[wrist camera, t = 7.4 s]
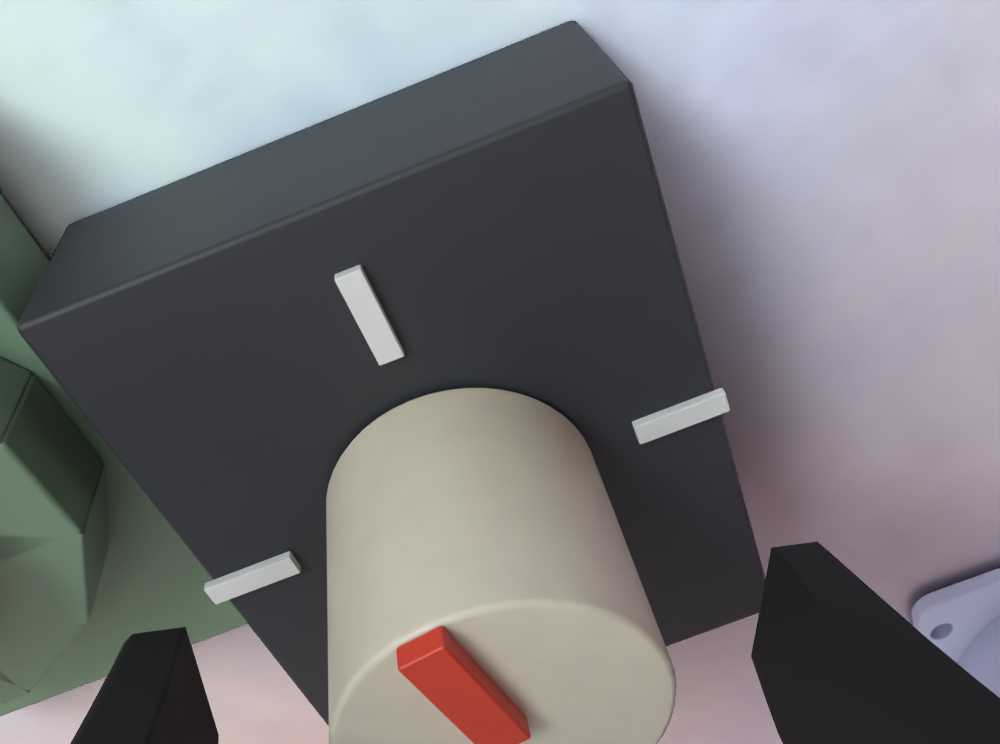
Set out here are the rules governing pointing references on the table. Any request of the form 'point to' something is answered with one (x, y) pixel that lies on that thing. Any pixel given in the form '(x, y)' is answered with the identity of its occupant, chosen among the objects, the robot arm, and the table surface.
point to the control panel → (404, 329)
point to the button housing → (74, 525)
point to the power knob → (484, 585)
